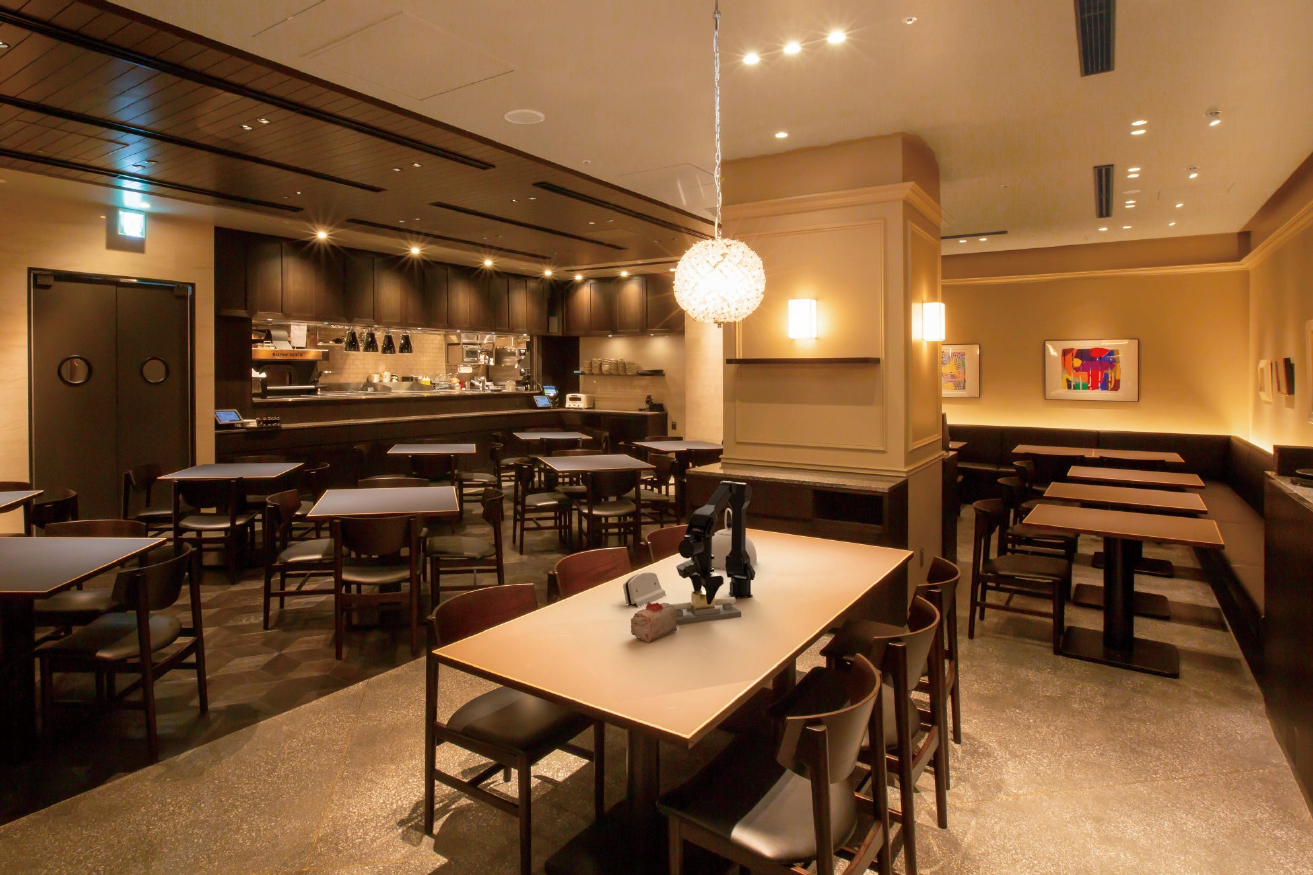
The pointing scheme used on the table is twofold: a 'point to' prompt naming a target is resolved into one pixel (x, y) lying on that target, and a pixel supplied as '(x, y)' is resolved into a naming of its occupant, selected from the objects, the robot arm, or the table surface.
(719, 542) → the kettle
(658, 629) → the food item
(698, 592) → the block
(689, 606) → the shaft stand
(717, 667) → the table surface
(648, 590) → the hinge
